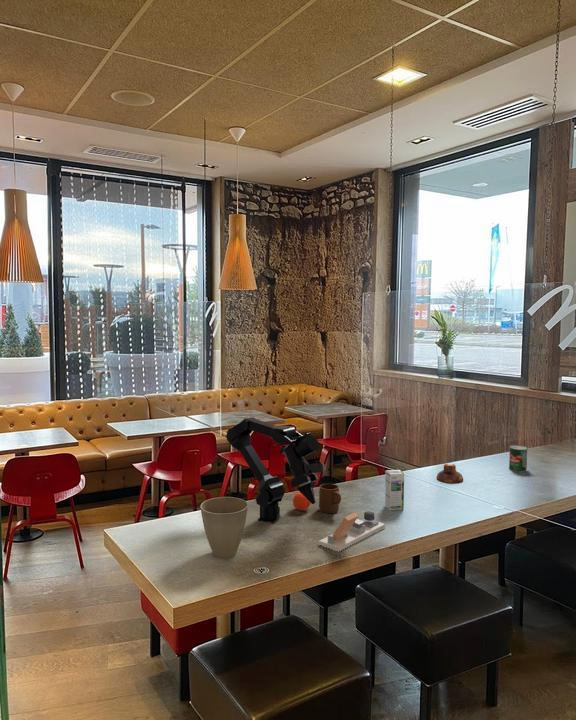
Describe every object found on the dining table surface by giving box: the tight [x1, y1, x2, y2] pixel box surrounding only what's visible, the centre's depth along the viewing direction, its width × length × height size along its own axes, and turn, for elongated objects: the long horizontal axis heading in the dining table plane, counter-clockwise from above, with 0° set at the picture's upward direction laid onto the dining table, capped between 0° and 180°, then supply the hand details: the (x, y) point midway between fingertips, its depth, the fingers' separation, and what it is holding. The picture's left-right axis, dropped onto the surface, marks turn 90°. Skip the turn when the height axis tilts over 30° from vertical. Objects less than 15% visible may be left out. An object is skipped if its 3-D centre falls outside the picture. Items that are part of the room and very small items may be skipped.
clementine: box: [292, 491, 312, 511], centre depth 219 cm, size 8×7×7 cm
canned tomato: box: [508, 444, 528, 473], centre depth 274 cm, size 8×8×11 cm
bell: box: [436, 463, 464, 484], centre depth 259 cm, size 12×12×7 cm
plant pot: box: [199, 496, 249, 559], centre depth 180 cm, size 15×15×16 cm
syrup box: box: [384, 469, 405, 511], centre depth 222 cm, size 6×6×14 cm
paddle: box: [331, 512, 359, 541], centre depth 186 cm, size 2×6×11 cm
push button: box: [363, 510, 375, 521], centre depth 201 cm, size 4×4×2 cm
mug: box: [318, 483, 342, 514], centre depth 217 cm, size 12×8×9 cm, turn 25°
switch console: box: [318, 518, 386, 553], centre depth 194 cm, size 8×27×4 cm, turn 138°
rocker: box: [353, 518, 364, 527], centre depth 195 cm, size 4×3×1 cm
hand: (313, 503), depth 195 cm, fingers closed
